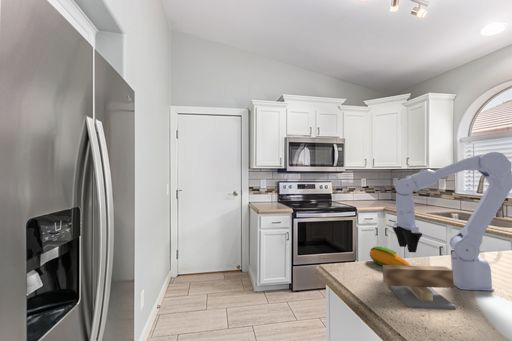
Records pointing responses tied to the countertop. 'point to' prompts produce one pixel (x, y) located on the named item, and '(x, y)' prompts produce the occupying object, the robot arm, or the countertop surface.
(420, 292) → the ridge
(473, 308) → the countertop surface
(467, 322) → the countertop surface
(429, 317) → the countertop surface
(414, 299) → the board
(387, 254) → the corn
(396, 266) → the brown wooden block
